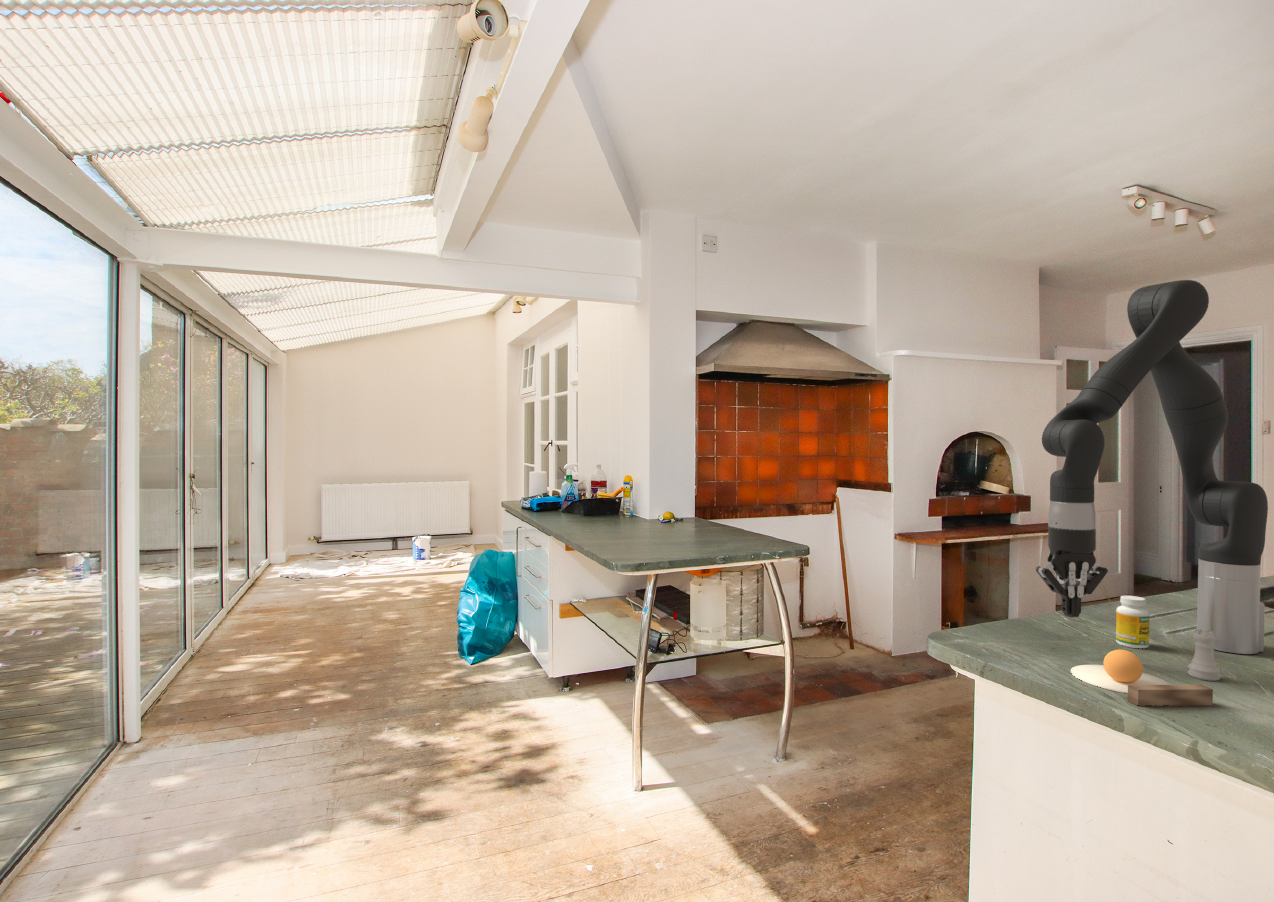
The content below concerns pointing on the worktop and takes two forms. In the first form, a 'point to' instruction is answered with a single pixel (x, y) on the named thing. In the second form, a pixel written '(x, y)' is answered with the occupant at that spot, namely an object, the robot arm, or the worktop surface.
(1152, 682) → the disc
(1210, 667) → the rook chess piece
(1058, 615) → the worktop surface
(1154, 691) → the rail
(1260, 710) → the worktop surface
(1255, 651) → the robot arm
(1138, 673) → the egg
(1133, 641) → the supplement bottle
